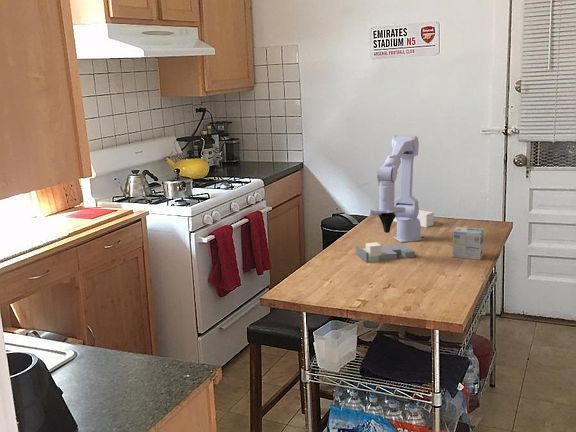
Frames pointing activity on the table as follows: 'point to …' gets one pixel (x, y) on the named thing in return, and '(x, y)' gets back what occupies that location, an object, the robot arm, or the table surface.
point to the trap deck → (386, 253)
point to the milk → (424, 218)
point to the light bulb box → (468, 243)
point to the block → (373, 249)
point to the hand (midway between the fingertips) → (386, 232)
